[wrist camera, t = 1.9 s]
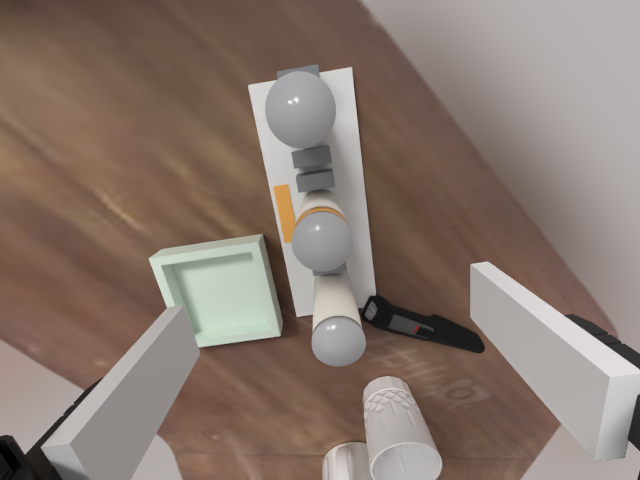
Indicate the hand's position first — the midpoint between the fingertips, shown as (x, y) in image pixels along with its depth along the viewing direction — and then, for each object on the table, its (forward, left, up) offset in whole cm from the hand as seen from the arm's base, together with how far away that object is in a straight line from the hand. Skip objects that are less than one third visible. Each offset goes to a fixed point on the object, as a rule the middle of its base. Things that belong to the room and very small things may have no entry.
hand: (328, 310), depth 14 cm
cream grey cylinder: (-9, 0, -20) cm, 22 cm away
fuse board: (0, 0, -21) cm, 21 cm away
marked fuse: (0, 0, -20) cm, 20 cm away
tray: (+8, -13, -21) cm, 26 cm away
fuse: (+9, 0, -20) cm, 22 cm away
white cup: (+28, +5, -21) cm, 35 cm away
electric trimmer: (+16, +10, -20) cm, 28 cm away
